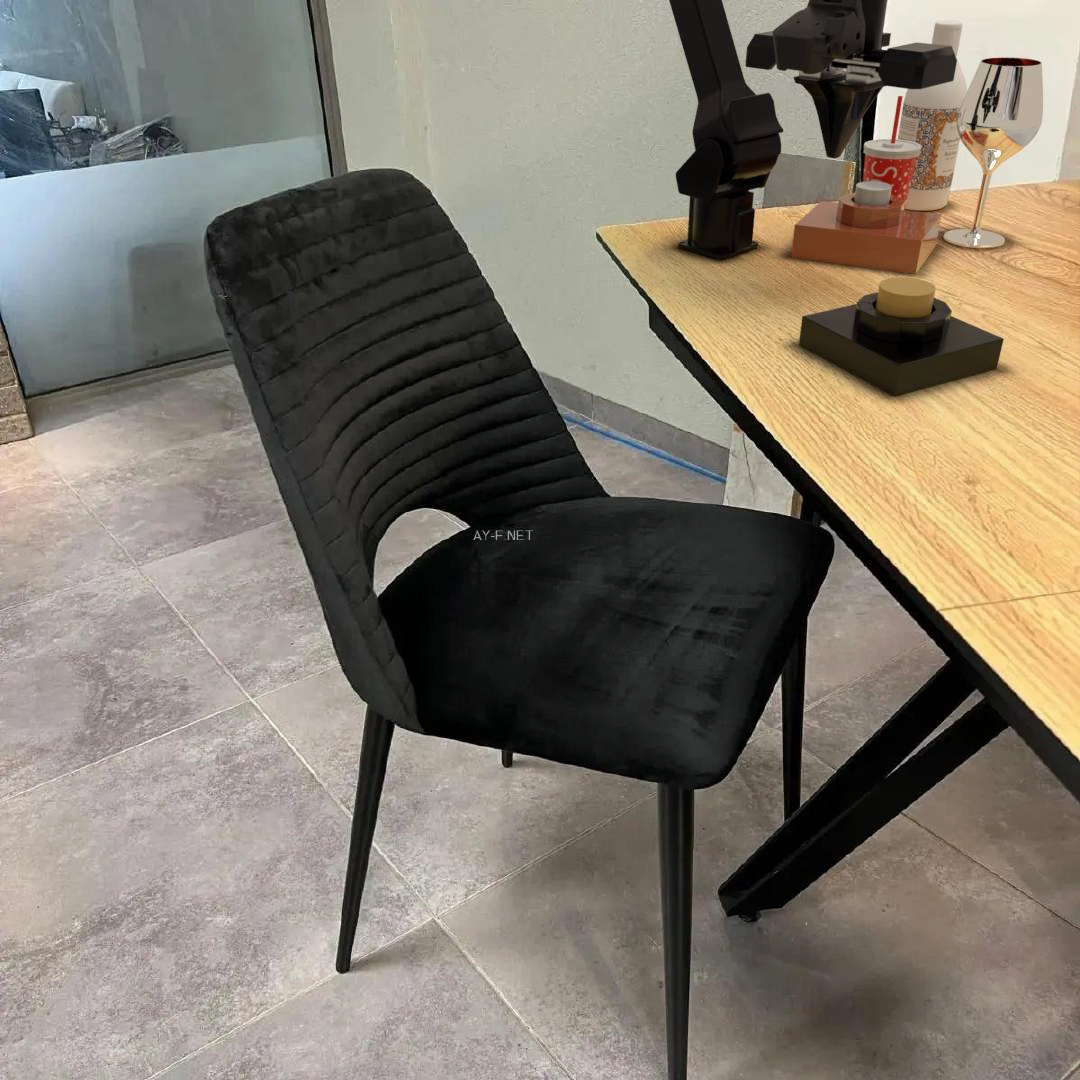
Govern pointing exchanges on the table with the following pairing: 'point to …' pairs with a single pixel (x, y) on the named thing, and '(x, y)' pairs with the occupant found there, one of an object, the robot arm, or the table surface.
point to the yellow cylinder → (905, 297)
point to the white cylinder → (872, 193)
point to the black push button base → (900, 345)
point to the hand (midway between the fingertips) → (833, 157)
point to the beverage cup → (891, 160)
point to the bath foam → (934, 129)
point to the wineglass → (997, 128)
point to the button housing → (867, 235)
